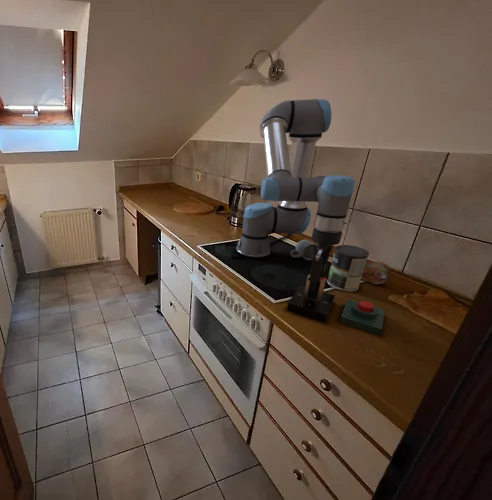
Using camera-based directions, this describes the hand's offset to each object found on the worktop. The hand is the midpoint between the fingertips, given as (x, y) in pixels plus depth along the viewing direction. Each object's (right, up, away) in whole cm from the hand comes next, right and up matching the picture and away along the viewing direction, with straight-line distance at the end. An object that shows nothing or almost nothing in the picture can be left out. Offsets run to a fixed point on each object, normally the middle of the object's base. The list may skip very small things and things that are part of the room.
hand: (312, 296), depth 98 cm
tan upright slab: (0, -1, 0) cm, 1 cm away
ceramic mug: (+17, +12, +38) cm, 43 cm away
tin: (+30, +4, +18) cm, 35 cm away
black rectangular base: (0, -4, +2) cm, 4 cm away
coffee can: (+19, +2, +14) cm, 24 cm away
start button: (+12, -3, -7) cm, 14 cm away
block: (+12, -6, -5) cm, 15 cm away
